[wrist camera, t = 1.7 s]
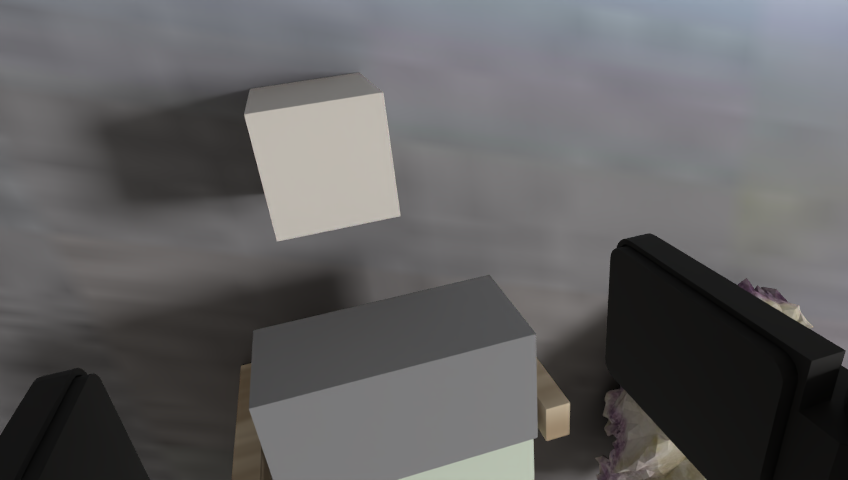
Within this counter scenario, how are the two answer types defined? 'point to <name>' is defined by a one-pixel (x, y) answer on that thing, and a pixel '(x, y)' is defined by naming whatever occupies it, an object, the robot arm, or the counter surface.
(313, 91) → the cube
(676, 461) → the geode
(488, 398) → the trapdoor
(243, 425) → the frame
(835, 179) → the counter surface
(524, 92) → the counter surface
